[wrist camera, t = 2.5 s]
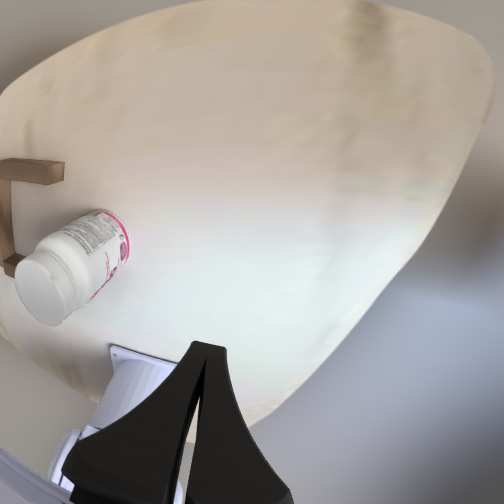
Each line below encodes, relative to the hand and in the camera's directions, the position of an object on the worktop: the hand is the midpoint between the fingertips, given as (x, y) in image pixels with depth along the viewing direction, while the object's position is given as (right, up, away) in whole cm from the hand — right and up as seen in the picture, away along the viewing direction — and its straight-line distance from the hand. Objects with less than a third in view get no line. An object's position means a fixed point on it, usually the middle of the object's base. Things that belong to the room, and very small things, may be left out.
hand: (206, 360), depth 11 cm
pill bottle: (-9, +5, +8) cm, 13 cm away
